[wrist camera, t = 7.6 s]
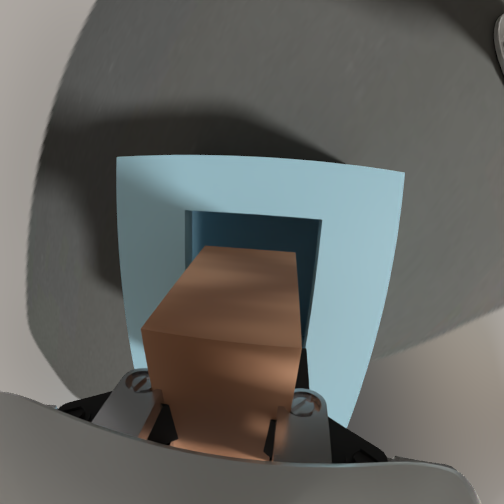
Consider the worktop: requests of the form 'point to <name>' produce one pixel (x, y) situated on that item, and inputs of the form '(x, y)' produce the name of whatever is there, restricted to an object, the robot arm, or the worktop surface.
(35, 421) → the robot arm
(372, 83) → the worktop surface
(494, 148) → the worktop surface
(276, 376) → the brown wooden block
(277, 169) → the box
